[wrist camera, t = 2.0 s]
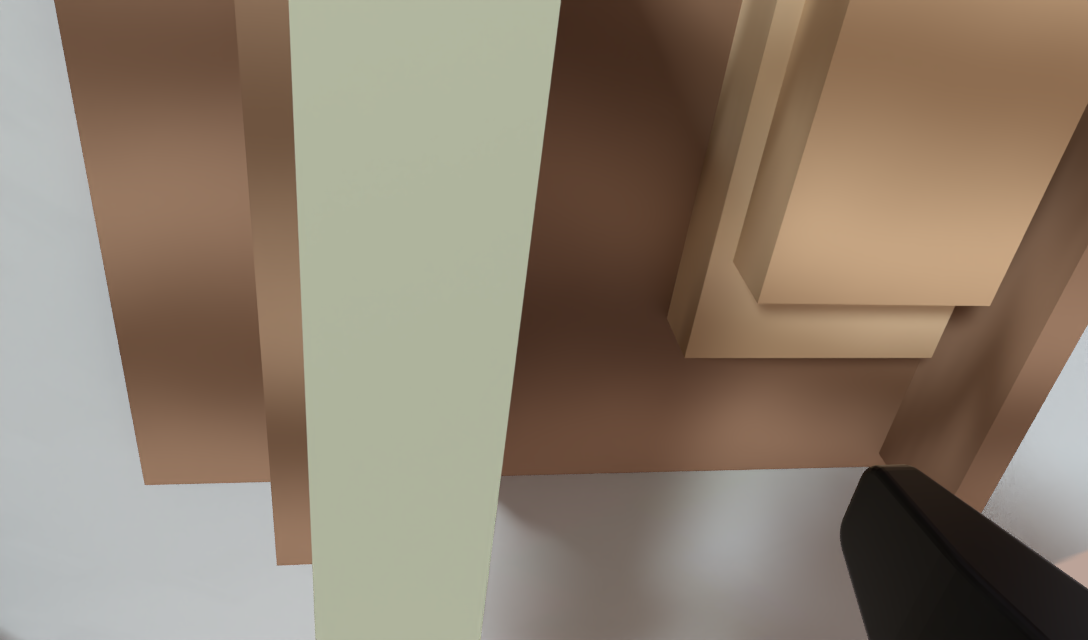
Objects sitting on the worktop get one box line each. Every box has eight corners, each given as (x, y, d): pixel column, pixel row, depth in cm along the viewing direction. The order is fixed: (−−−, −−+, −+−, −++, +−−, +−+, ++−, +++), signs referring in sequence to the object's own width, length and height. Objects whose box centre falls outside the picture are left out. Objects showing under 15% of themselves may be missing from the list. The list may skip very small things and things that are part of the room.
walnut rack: (920, 440, 27) (995, 548, 23) (153, 455, 23) (117, 587, 19) (1384, -530, 15) (1669, -582, 11) (-79, -864, 11) (-272, -1085, 7)
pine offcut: (901, 320, 22) (931, 358, 21) (666, 318, 21) (684, 357, 20) (1114, -189, 16) (1174, -175, 15) (797, -230, 15) (834, -219, 14)
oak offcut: (952, 265, 20) (989, 306, 18) (732, 261, 19) (757, 303, 18) (1133, -145, 15) (1198, -127, 14) (854, -179, 14) (899, -162, 13)
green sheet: (416, 369, 21) (449, 885, 12) (345, 369, 21) (326, 899, 12) (453, -400, 13) (626, -505, 4) (337, -419, 13) (263, -573, 4)
